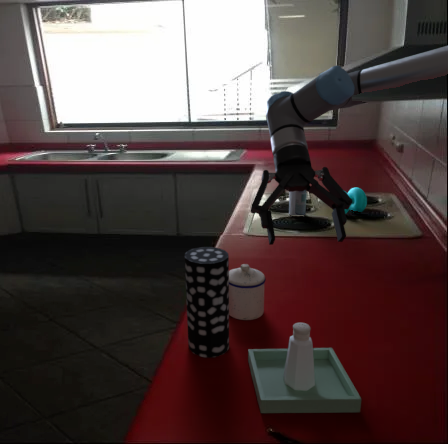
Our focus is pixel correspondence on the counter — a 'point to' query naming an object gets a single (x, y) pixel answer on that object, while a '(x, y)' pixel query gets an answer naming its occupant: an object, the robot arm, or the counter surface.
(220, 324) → the white-spotted black cylinder
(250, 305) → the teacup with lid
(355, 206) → the turquoise dumbbell
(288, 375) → the salt shaker
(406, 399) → the counter surface
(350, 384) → the tray
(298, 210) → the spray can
